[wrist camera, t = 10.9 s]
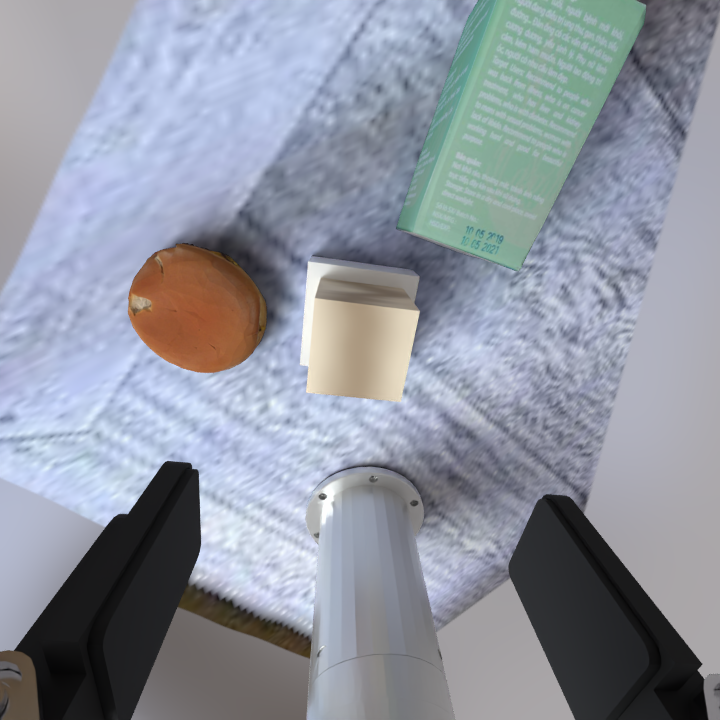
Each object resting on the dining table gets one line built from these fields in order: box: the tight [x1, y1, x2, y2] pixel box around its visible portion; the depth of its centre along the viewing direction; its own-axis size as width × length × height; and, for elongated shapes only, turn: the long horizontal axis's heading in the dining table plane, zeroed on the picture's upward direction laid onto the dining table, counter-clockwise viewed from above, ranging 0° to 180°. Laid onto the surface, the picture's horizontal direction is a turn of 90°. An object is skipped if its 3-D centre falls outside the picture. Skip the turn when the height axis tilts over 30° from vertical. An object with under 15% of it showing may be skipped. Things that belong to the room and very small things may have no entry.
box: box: [396, 0, 646, 272], centre depth 21 cm, size 7×14×8 cm, turn 162°
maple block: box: [306, 278, 420, 402], centre depth 24 cm, size 6×6×6 cm
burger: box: [128, 243, 267, 373], centre depth 26 cm, size 10×9×5 cm
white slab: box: [300, 256, 420, 366], centre depth 28 cm, size 8×8×3 cm
